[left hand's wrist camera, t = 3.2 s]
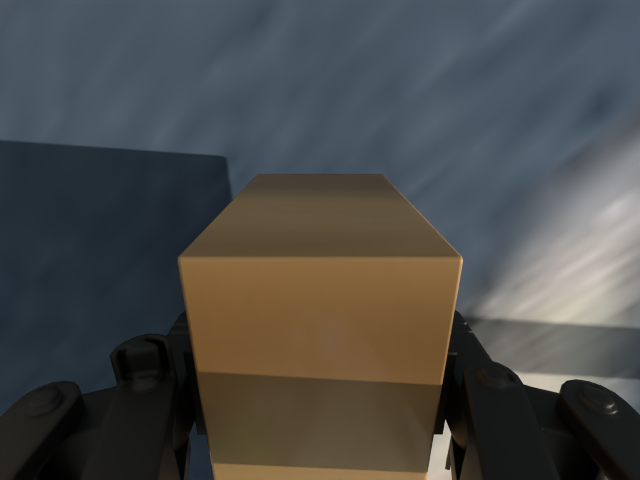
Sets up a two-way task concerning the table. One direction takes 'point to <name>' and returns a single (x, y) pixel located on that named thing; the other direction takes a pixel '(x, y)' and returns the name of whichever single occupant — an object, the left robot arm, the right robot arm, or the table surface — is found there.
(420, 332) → the bar
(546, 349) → the table surface
